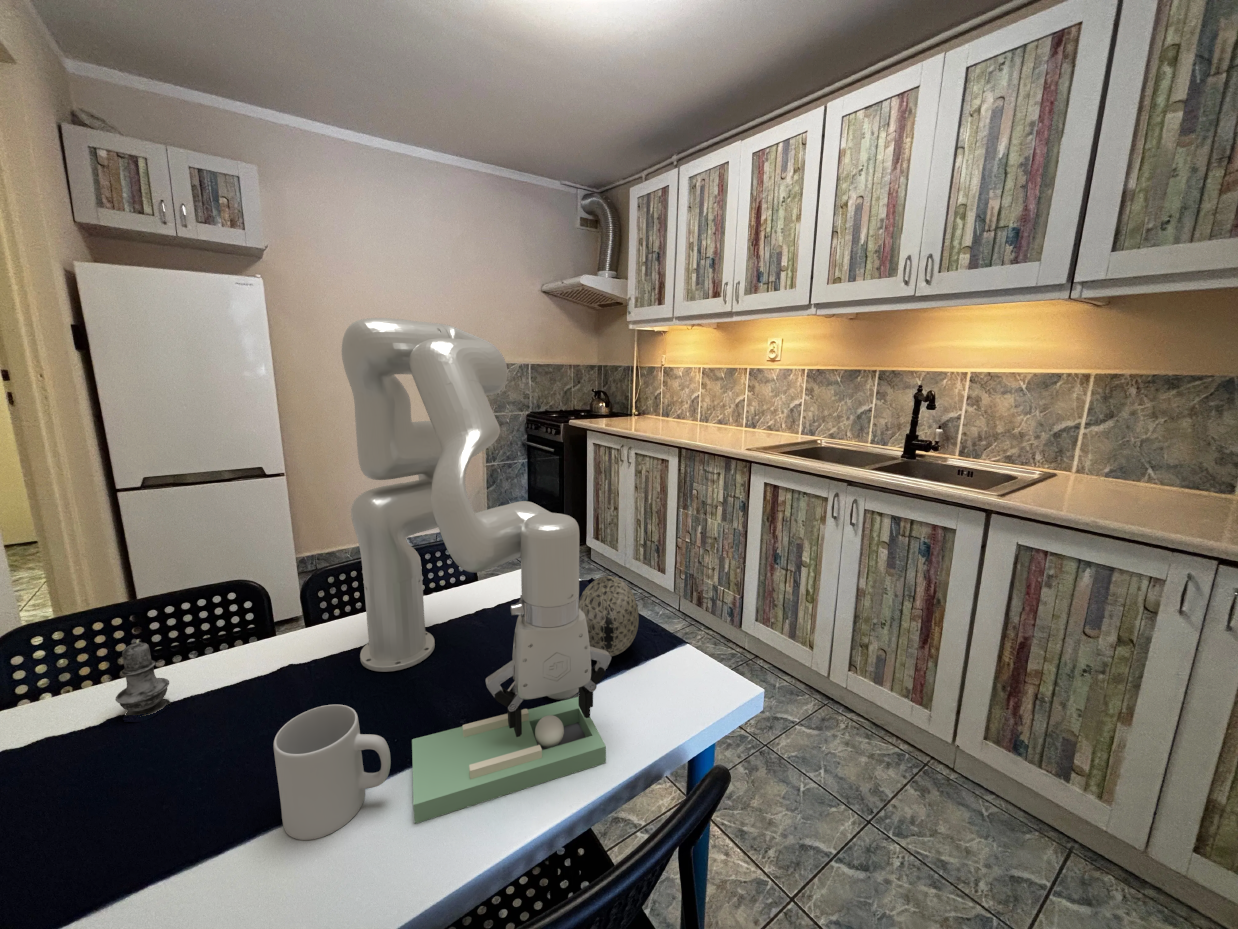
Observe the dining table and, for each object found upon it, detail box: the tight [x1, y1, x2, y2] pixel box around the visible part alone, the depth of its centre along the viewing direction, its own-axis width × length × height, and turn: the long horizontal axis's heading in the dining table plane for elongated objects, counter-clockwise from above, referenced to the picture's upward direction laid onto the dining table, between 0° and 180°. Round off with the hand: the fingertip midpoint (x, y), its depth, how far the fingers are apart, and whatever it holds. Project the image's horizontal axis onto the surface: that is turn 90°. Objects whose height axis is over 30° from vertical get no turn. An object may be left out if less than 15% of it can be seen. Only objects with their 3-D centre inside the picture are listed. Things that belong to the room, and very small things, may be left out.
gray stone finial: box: [115, 638, 171, 717], centre depth 73 cm, size 6×6×12 cm
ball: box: [535, 715, 564, 748], centre depth 68 cm, size 4×4×4 cm
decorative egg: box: [579, 575, 640, 657], centre depth 91 cm, size 12×12×15 cm
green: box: [411, 696, 607, 825], centre depth 66 cm, size 11×24×4 cm, turn 113°
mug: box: [273, 704, 392, 841], centre depth 58 cm, size 12×8×11 cm
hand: (551, 720), depth 68 cm, fingers open, 9 cm apart
